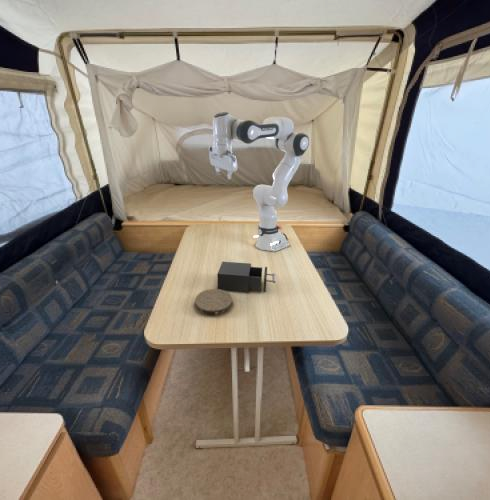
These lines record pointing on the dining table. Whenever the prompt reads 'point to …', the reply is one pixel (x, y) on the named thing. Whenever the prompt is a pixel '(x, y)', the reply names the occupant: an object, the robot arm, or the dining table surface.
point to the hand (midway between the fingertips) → (223, 177)
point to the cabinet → (234, 276)
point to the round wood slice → (213, 302)
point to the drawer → (258, 278)
